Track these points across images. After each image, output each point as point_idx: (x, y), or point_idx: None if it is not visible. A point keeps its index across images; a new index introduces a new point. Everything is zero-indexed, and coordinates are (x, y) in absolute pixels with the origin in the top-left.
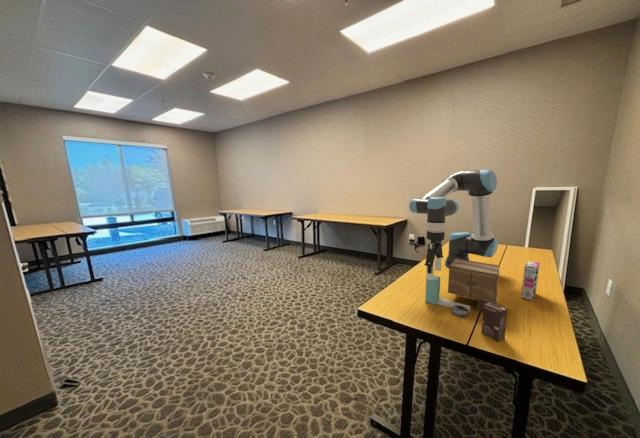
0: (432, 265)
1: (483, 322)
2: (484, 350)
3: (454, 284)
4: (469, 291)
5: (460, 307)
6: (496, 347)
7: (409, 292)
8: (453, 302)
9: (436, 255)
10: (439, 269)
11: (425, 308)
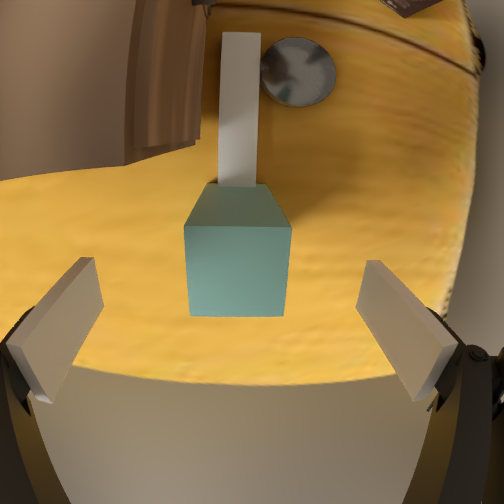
0: (485, 353)
1: (431, 4)
2: (471, 38)
3: (192, 98)
4: (203, 10)
5: (280, 68)
6: (443, 4)
7: (205, 322)
8: (230, 106)
9: (30, 414)
10: (88, 273)
11: (333, 220)
